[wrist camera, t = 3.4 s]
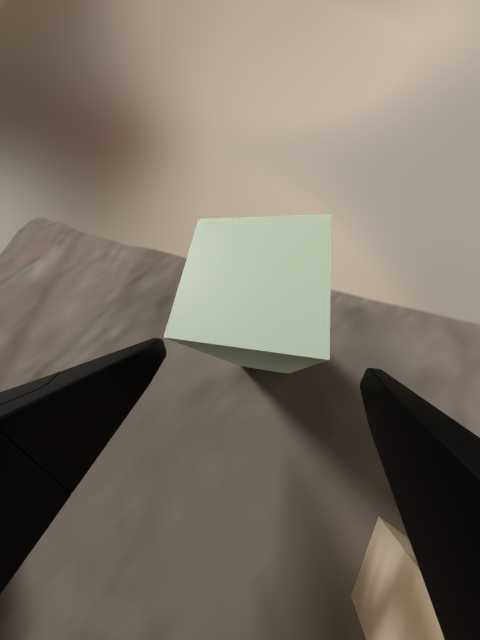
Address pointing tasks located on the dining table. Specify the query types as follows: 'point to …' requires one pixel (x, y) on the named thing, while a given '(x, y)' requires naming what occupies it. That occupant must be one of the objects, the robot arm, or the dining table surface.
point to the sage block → (257, 292)
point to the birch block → (393, 590)
